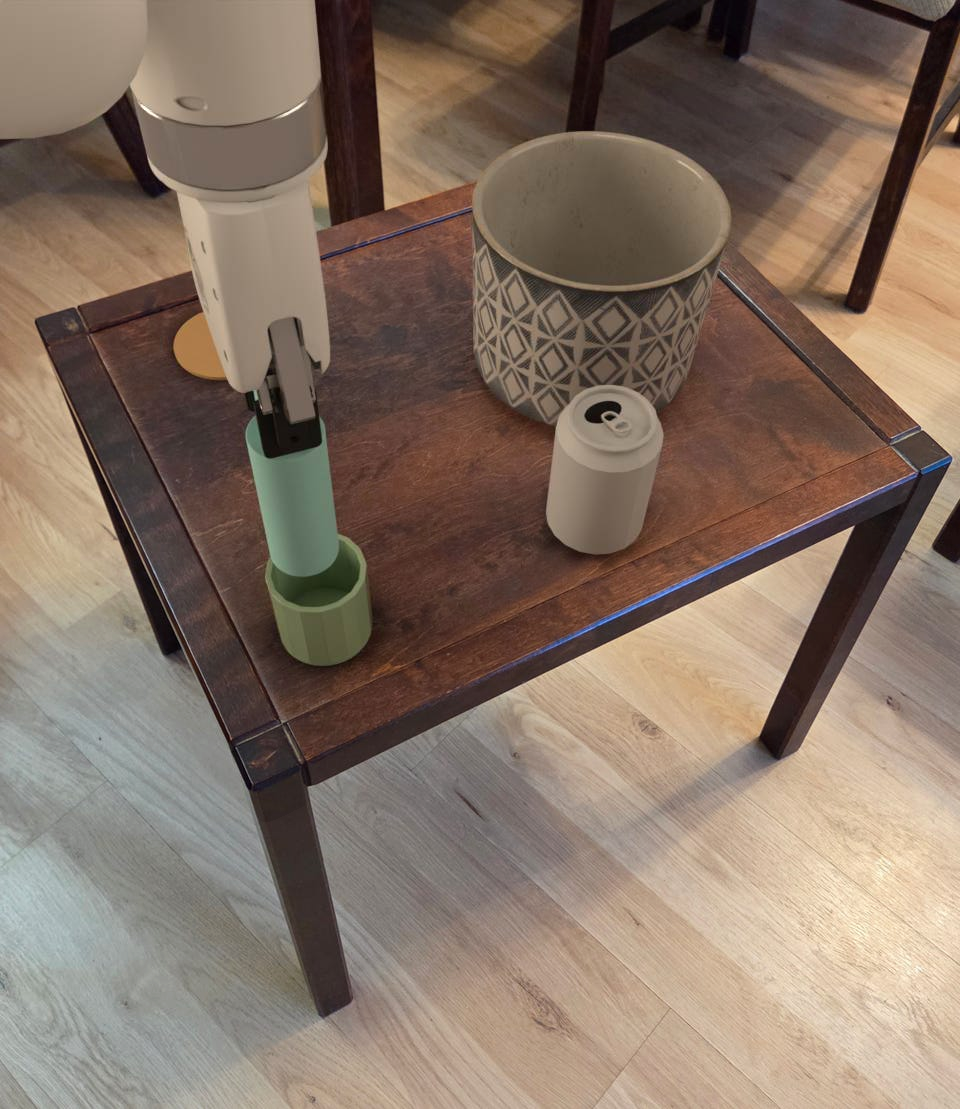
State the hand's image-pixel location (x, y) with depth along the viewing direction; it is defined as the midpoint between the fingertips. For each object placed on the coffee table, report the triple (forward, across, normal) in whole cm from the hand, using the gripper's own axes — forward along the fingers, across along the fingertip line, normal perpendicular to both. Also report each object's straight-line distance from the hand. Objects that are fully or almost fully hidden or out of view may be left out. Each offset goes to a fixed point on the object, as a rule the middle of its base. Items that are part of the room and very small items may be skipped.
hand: (283, 423), depth 58 cm
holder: (+21, 0, +1) cm, 21 cm away
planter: (+21, -18, +29) cm, 40 cm away
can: (+21, -2, +23) cm, 31 cm away
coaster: (+21, -31, +1) cm, 38 cm away
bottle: (+12, 0, 0) cm, 12 cm away
